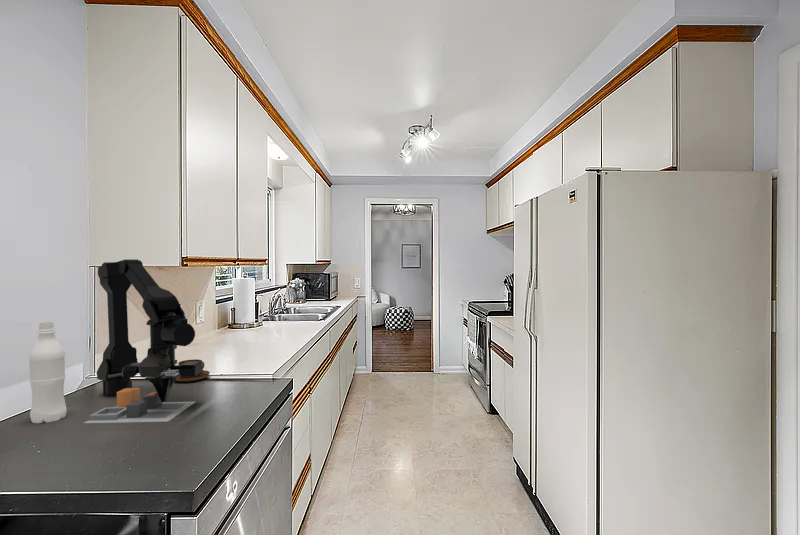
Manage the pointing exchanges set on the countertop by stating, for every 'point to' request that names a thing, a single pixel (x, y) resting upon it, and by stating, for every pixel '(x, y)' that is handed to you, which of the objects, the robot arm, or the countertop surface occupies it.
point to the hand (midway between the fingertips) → (163, 401)
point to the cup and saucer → (192, 378)
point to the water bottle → (47, 377)
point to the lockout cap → (127, 396)
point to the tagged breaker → (152, 400)
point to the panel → (176, 411)
